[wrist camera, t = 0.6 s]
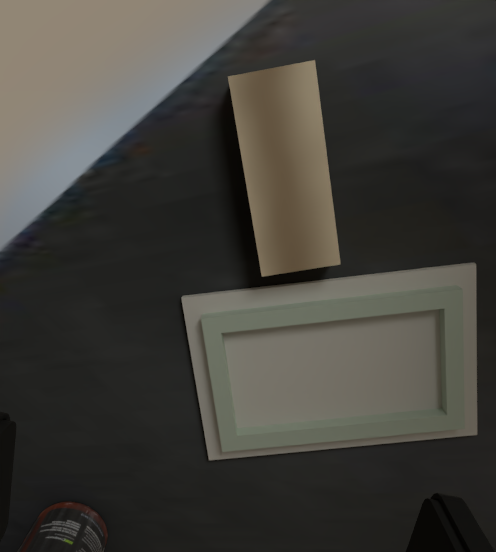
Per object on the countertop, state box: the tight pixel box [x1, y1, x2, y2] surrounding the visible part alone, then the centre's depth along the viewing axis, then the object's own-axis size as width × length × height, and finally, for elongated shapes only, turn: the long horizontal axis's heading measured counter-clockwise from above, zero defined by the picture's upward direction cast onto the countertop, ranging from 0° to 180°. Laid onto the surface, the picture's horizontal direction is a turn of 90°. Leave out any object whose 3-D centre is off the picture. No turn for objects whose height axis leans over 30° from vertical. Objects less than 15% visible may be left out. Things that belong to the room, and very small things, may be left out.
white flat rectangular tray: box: [181, 262, 477, 460], centre depth 34 cm, size 20×13×2 cm, turn 97°
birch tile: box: [228, 60, 340, 277], centre depth 30 cm, size 5×12×3 cm, turn 10°
